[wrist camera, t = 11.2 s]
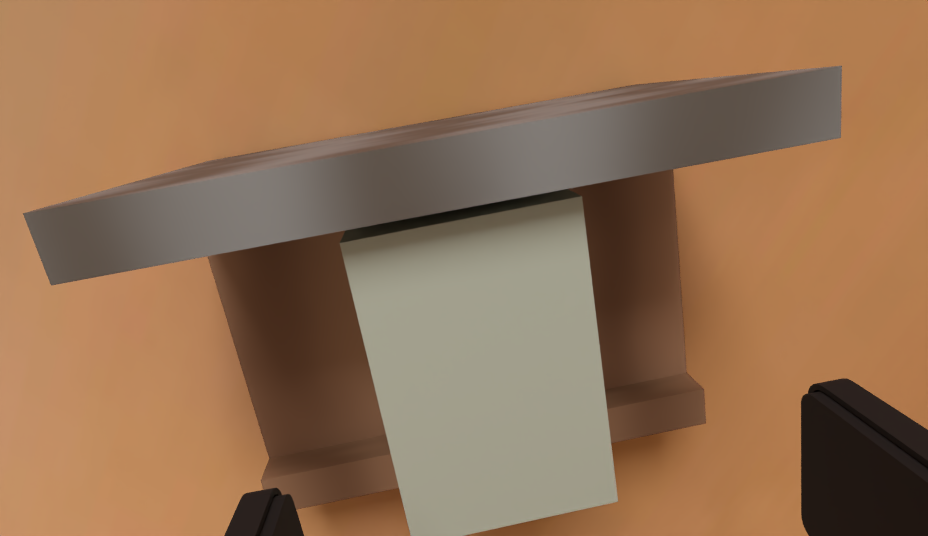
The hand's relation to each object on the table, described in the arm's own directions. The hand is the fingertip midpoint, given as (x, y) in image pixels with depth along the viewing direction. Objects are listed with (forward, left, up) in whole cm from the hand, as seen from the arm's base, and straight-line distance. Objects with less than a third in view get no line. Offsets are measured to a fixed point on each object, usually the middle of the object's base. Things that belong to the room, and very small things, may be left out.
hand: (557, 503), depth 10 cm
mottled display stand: (+1, 0, -16) cm, 16 cm away
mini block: (0, 0, -13) cm, 13 cm away
